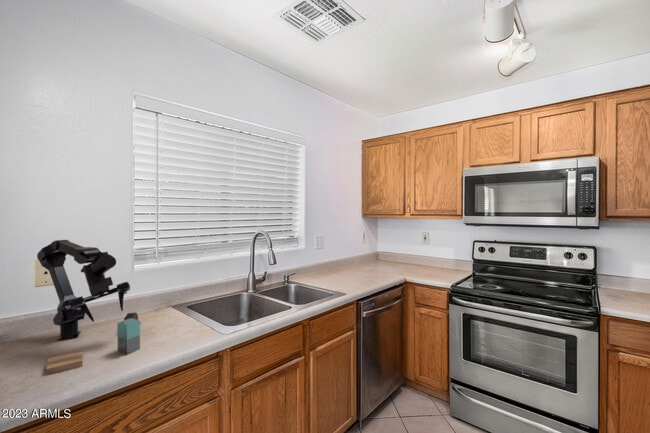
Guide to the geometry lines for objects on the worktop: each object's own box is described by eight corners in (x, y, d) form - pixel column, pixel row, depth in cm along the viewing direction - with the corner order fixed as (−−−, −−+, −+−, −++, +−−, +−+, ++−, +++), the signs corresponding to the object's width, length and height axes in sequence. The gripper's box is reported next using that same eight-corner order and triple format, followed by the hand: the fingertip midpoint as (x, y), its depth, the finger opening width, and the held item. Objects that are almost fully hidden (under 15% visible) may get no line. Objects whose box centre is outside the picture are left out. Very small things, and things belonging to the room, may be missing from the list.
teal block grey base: (117, 352, 112) (117, 322, 112) (130, 346, 117) (130, 318, 117) (127, 354, 111) (126, 324, 110) (140, 348, 115) (139, 320, 115)
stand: (48, 364, 104) (48, 358, 104) (82, 356, 109) (82, 350, 109) (46, 375, 97) (45, 369, 97) (82, 366, 102) (82, 360, 102)
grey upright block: (140, 325, 139) (140, 308, 139) (134, 333, 130) (133, 316, 129) (129, 326, 138) (129, 309, 138) (122, 334, 129) (121, 317, 128)
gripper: (62, 282, 107) (75, 325, 104) (123, 264, 118) (136, 302, 116) (66, 289, 115) (78, 328, 113) (123, 271, 127) (135, 306, 124)
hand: (108, 316), depth 116 cm, fingers open, 9 cm apart
